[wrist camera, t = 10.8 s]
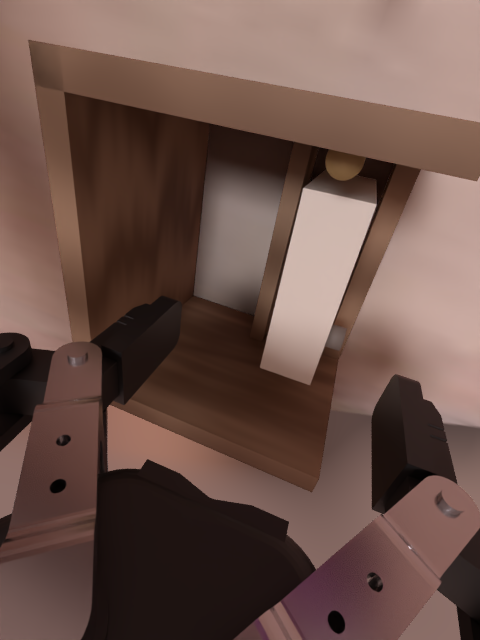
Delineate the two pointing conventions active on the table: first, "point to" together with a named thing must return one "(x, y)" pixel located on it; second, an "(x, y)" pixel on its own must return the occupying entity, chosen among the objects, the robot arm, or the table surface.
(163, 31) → the table surface
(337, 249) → the door
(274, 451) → the cabinet
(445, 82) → the table surface
